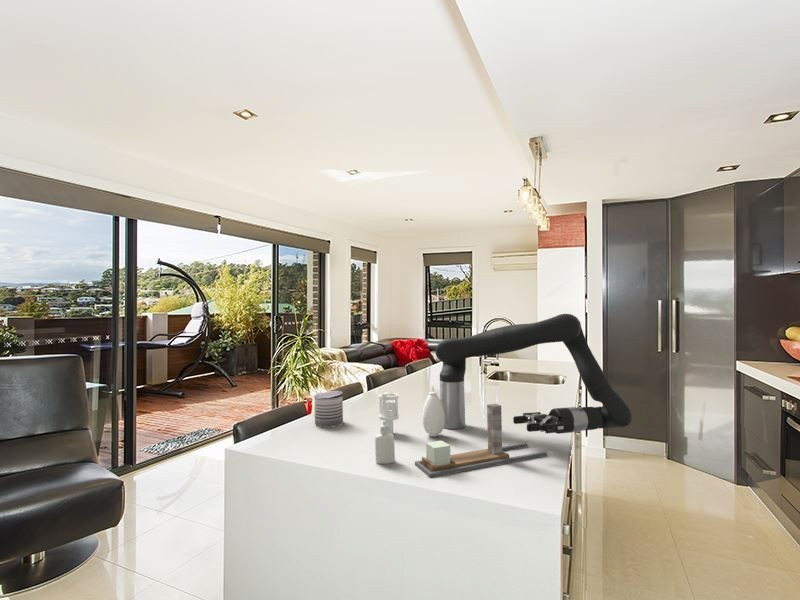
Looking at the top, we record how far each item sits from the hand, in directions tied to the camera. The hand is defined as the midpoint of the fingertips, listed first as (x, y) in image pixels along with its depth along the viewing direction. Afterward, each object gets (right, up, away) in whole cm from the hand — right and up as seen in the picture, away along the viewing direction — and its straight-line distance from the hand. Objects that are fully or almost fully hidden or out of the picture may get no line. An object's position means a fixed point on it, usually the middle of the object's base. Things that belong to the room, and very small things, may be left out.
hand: (520, 423), depth 130 cm
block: (-26, -8, -9) cm, 28 cm away
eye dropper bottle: (-41, -10, -3) cm, 42 cm away
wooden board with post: (-17, -10, -6) cm, 21 cm away
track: (-12, -10, -3) cm, 16 cm away
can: (-65, -12, +40) cm, 77 cm away
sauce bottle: (-25, -10, +20) cm, 34 cm away
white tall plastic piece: (-40, -11, +25) cm, 49 cm away
